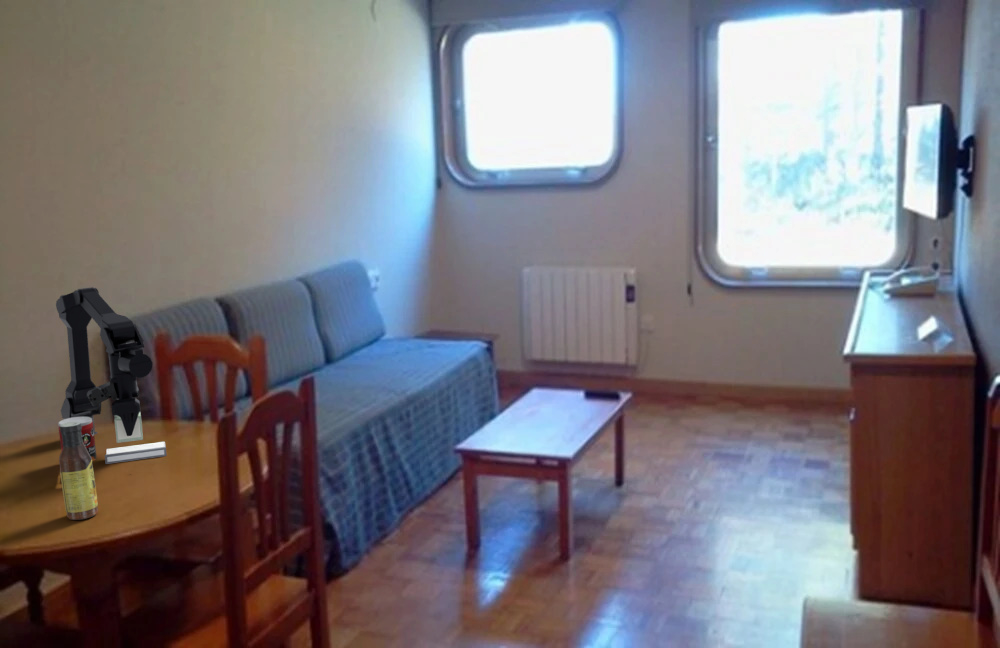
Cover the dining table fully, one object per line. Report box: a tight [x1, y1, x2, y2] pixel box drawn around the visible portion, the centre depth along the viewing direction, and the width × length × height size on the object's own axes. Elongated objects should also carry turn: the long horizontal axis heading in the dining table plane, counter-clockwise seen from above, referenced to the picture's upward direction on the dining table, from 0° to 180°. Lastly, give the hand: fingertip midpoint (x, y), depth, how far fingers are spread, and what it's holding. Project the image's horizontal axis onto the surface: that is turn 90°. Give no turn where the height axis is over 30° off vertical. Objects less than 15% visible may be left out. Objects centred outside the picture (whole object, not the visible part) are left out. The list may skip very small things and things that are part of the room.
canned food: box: [57, 417, 97, 462], centre depth 229 cm, size 8×8×11 cm
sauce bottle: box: [58, 422, 99, 521], centre depth 193 cm, size 7×6×20 cm
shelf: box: [104, 441, 168, 465], centre depth 234 cm, size 13×14×3 cm
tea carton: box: [113, 411, 144, 444], centre depth 230 cm, size 4×6×6 cm
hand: (129, 433), depth 230 cm, fingers closed on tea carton, 4 cm apart
